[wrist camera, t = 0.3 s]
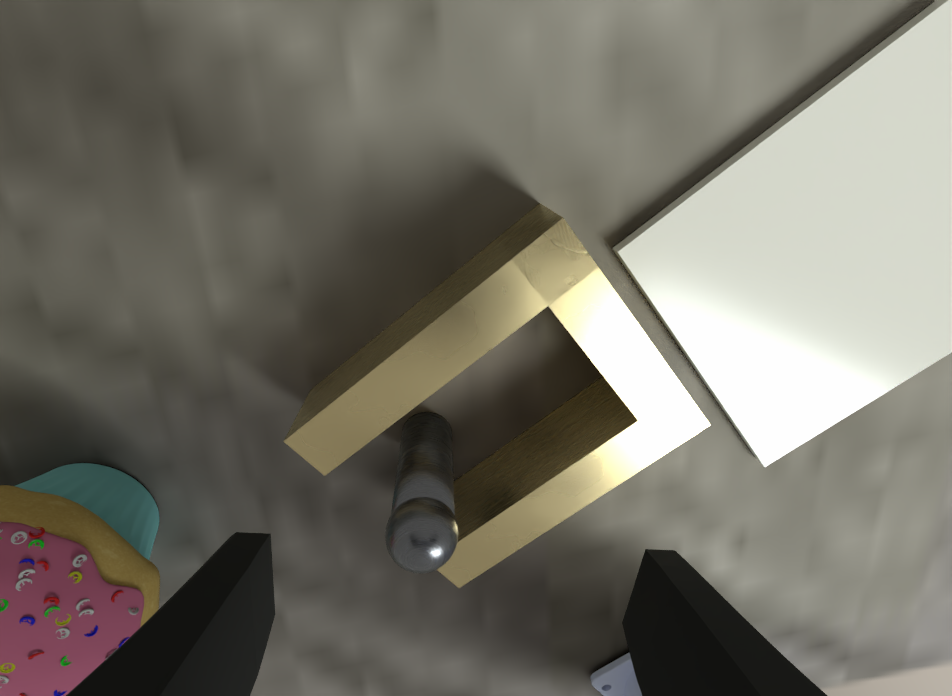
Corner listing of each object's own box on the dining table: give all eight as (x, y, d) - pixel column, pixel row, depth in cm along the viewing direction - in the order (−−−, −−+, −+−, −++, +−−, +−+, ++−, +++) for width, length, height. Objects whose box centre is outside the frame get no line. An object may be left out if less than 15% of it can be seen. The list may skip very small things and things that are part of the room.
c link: (666, 378, 20) (710, 425, 16) (456, 522, 22) (458, 588, 19) (539, 203, 17) (563, 217, 13) (310, 390, 19) (283, 441, 16)
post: (465, 435, 20) (475, 563, 14) (424, 465, 20) (417, 601, 14) (429, 400, 19) (424, 518, 13) (388, 431, 20) (364, 560, 14)
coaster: (1028, 289, 19) (1046, 293, 19) (756, 458, 21) (764, 467, 21) (936, 0, 15) (955, -6, 14) (611, 248, 17) (617, 251, 17)
